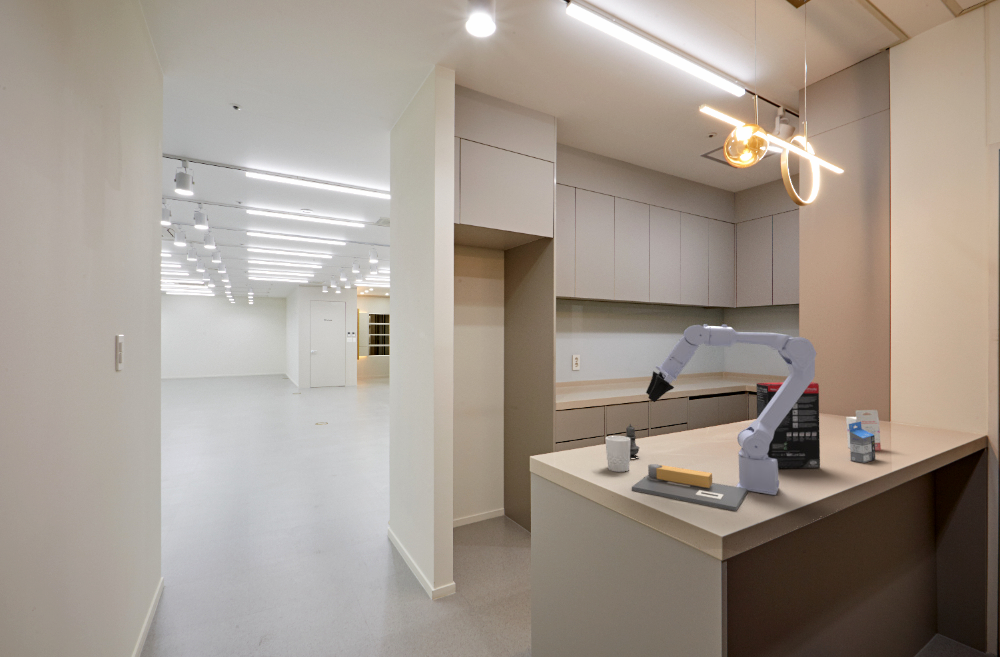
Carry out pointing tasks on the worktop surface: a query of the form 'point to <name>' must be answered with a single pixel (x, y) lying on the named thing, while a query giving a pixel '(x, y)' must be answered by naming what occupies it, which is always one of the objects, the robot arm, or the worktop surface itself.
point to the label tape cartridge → (861, 444)
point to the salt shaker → (632, 441)
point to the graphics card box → (794, 428)
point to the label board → (694, 492)
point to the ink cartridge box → (866, 425)
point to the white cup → (618, 453)
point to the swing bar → (680, 475)
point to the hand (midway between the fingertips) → (650, 397)
